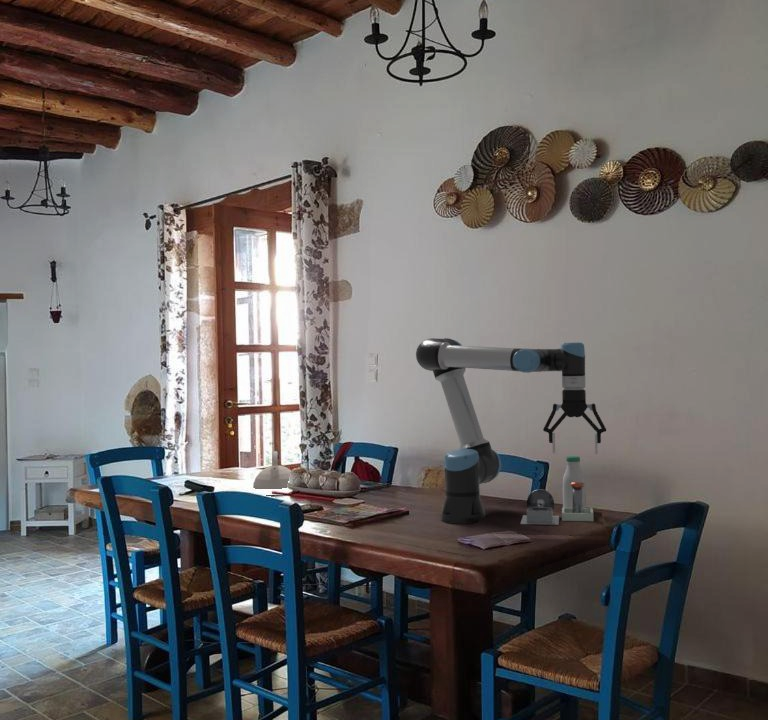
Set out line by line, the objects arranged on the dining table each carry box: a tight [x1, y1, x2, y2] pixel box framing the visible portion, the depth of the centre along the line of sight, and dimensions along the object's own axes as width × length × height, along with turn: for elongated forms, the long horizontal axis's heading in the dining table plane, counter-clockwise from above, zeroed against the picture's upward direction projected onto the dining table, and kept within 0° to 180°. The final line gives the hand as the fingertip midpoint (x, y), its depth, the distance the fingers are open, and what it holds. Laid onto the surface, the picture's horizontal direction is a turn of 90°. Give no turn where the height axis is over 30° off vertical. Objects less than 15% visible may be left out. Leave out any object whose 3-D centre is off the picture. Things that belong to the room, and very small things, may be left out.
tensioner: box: [520, 488, 560, 526], centre depth 263 cm, size 12×15×10 cm
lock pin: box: [571, 482, 584, 513], centre depth 265 cm, size 4×4×12 cm
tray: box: [561, 507, 594, 522], centre depth 265 cm, size 10×10×4 cm
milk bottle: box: [562, 455, 587, 508], centre depth 278 cm, size 8×8×20 cm
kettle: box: [252, 450, 292, 489], centre depth 346 cm, size 20×21×18 cm
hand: (574, 453), depth 265 cm, fingers open, 13 cm apart
